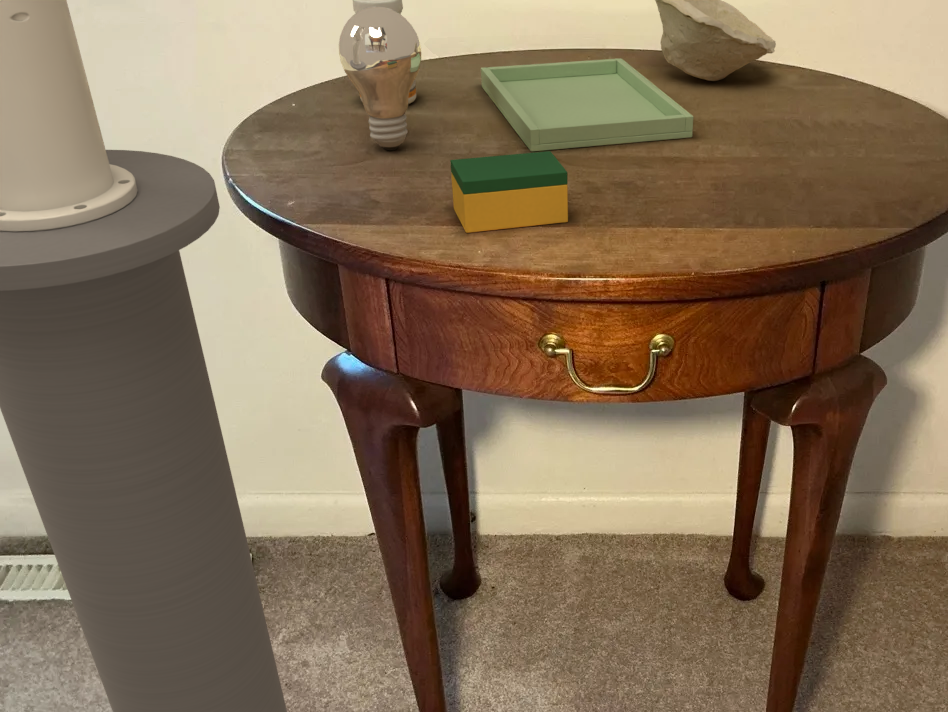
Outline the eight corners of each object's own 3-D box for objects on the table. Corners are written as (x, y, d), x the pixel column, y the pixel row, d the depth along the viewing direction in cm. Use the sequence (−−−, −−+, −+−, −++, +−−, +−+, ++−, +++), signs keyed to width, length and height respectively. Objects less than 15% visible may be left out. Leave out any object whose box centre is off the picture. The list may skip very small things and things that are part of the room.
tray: (530, 151, 95) (530, 129, 94) (481, 86, 112) (480, 67, 110) (692, 137, 99) (693, 116, 97) (621, 76, 116) (621, 58, 114)
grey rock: (781, 98, 110) (792, -5, 104) (647, 96, 109) (650, -7, 104) (763, 61, 122) (772, -33, 116) (643, 59, 122) (646, -35, 116)
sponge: (465, 233, 79) (462, 181, 77) (453, 209, 83) (450, 159, 81) (568, 222, 81) (567, 171, 79) (551, 199, 85) (550, 150, 83)
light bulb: (445, 145, 96) (434, 5, 89) (392, 167, 91) (377, 20, 84) (388, 132, 99) (374, -5, 92) (334, 151, 94) (315, 9, 87)
